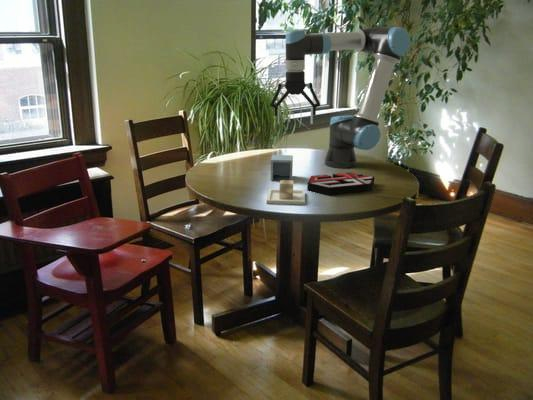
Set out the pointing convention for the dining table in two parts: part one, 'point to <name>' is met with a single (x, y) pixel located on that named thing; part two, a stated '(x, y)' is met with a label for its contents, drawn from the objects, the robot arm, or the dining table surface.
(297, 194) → the tray
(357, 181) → the emblem
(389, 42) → the robot arm
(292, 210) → the dining table surface
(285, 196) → the block
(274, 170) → the open box
